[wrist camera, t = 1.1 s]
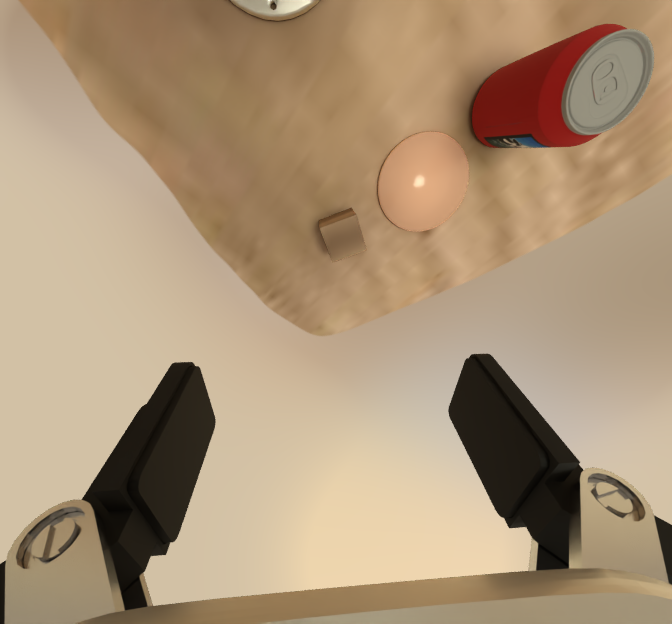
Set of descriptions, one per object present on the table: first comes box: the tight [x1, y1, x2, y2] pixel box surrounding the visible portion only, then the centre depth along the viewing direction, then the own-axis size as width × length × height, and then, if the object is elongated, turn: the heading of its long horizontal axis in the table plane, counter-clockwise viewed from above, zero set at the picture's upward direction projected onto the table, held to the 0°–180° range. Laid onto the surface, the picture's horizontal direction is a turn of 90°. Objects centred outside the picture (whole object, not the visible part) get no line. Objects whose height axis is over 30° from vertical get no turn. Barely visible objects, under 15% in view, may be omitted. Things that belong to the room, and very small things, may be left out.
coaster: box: [378, 131, 469, 231], centre depth 31 cm, size 10×10×1 cm
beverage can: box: [472, 24, 654, 148], centre depth 23 cm, size 7×7×12 cm
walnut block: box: [319, 208, 367, 263], centre depth 32 cm, size 4×4×4 cm
